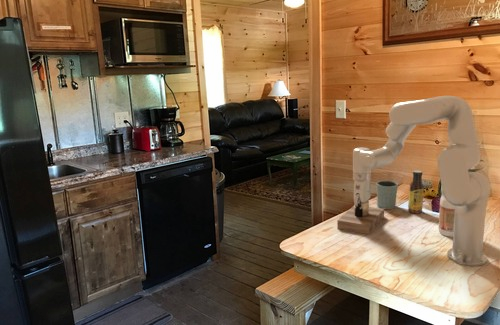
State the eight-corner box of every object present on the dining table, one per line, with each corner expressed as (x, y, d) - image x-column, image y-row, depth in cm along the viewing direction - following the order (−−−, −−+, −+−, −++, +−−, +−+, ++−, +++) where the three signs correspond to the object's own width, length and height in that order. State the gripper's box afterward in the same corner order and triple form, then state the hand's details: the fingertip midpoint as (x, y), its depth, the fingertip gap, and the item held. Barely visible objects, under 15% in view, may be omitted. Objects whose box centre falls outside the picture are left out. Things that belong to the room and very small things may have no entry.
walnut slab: (368, 234, 168) (369, 225, 167) (337, 228, 176) (337, 220, 175) (384, 217, 185) (384, 208, 184) (354, 212, 193) (354, 204, 192)
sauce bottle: (413, 214, 186) (415, 173, 181) (405, 210, 192) (406, 170, 187) (425, 212, 187) (427, 172, 183) (416, 208, 193) (418, 169, 189)
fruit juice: (433, 230, 167) (436, 166, 161) (451, 227, 170) (455, 163, 164) (450, 239, 159) (454, 171, 152) (469, 235, 161) (474, 168, 155)
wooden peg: (366, 224, 176) (366, 204, 174) (352, 222, 180) (352, 202, 177) (370, 220, 181) (370, 200, 179) (357, 217, 184) (357, 198, 182)
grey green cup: (379, 201, 206) (379, 179, 203) (399, 204, 200) (400, 181, 197) (373, 207, 198) (373, 184, 195) (394, 211, 192) (394, 187, 189)
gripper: (363, 181, 166) (363, 222, 170) (376, 171, 180) (375, 209, 184) (346, 179, 171) (346, 219, 175) (360, 170, 184) (359, 207, 188)
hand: (361, 213), depth 179 cm, fingers closed on wooden peg, 6 cm apart
